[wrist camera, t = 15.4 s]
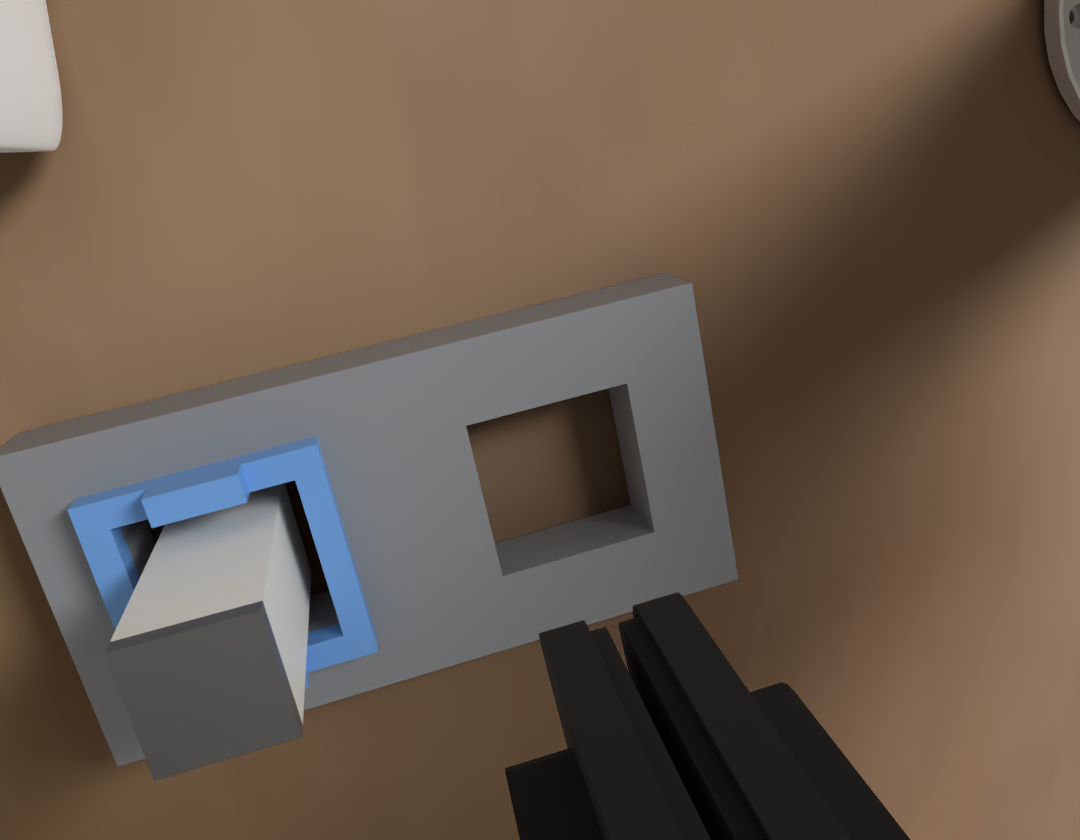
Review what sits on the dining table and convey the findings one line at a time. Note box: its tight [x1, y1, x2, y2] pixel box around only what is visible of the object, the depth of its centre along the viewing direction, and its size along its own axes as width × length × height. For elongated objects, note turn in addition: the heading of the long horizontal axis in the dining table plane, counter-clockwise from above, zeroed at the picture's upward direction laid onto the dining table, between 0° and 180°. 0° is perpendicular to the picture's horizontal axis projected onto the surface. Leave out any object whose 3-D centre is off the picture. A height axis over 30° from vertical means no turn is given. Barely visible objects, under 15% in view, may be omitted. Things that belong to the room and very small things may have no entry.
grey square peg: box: [105, 483, 311, 781], centre depth 30 cm, size 4×4×11 cm
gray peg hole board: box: [0, 273, 738, 767], centre depth 33 cm, size 24×12×5 cm, turn 102°
